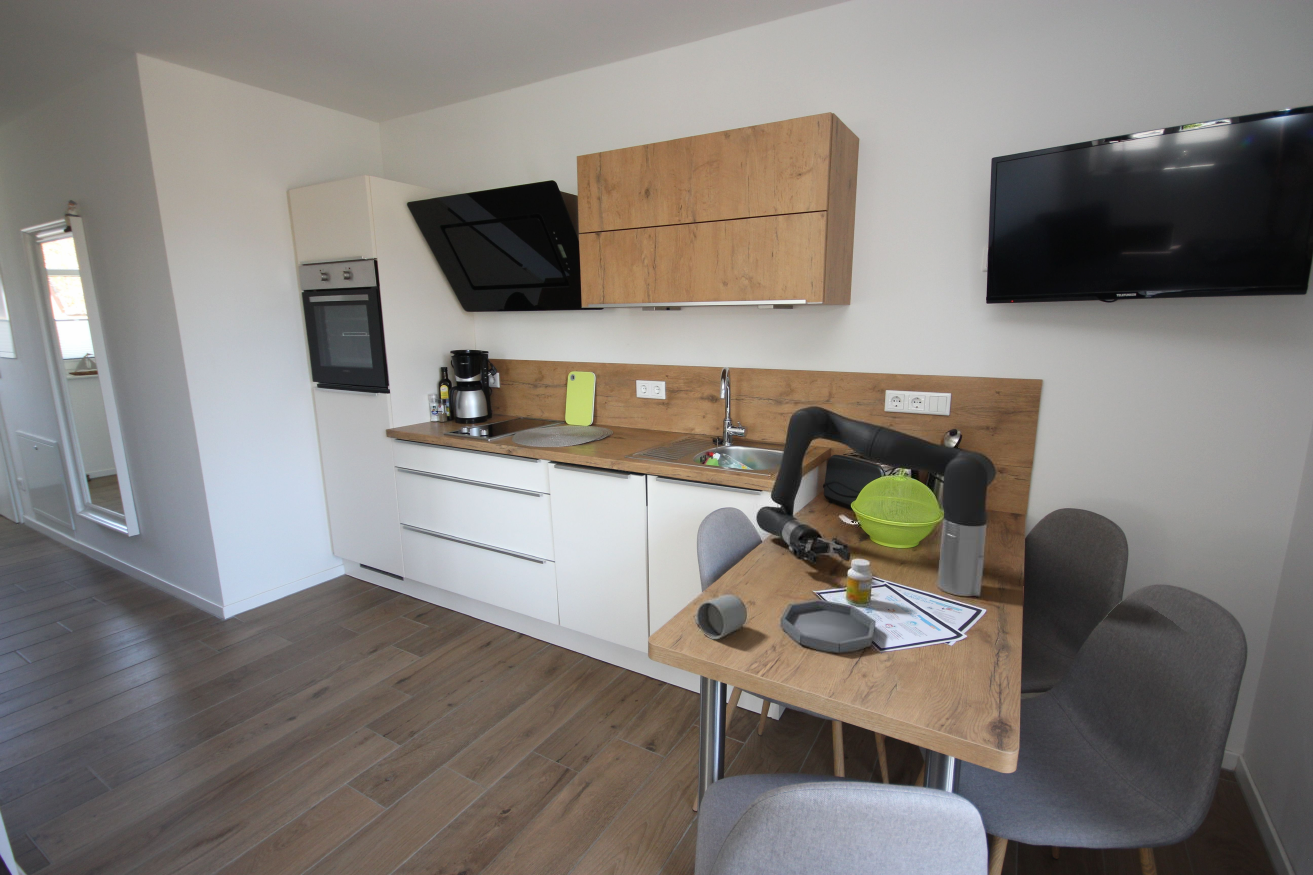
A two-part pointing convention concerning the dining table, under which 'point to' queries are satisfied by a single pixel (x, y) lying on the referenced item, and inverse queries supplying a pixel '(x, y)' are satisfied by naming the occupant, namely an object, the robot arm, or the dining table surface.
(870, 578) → the supplement bottle
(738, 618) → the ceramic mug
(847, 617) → the dish
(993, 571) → the dining table surface
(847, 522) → the fork
